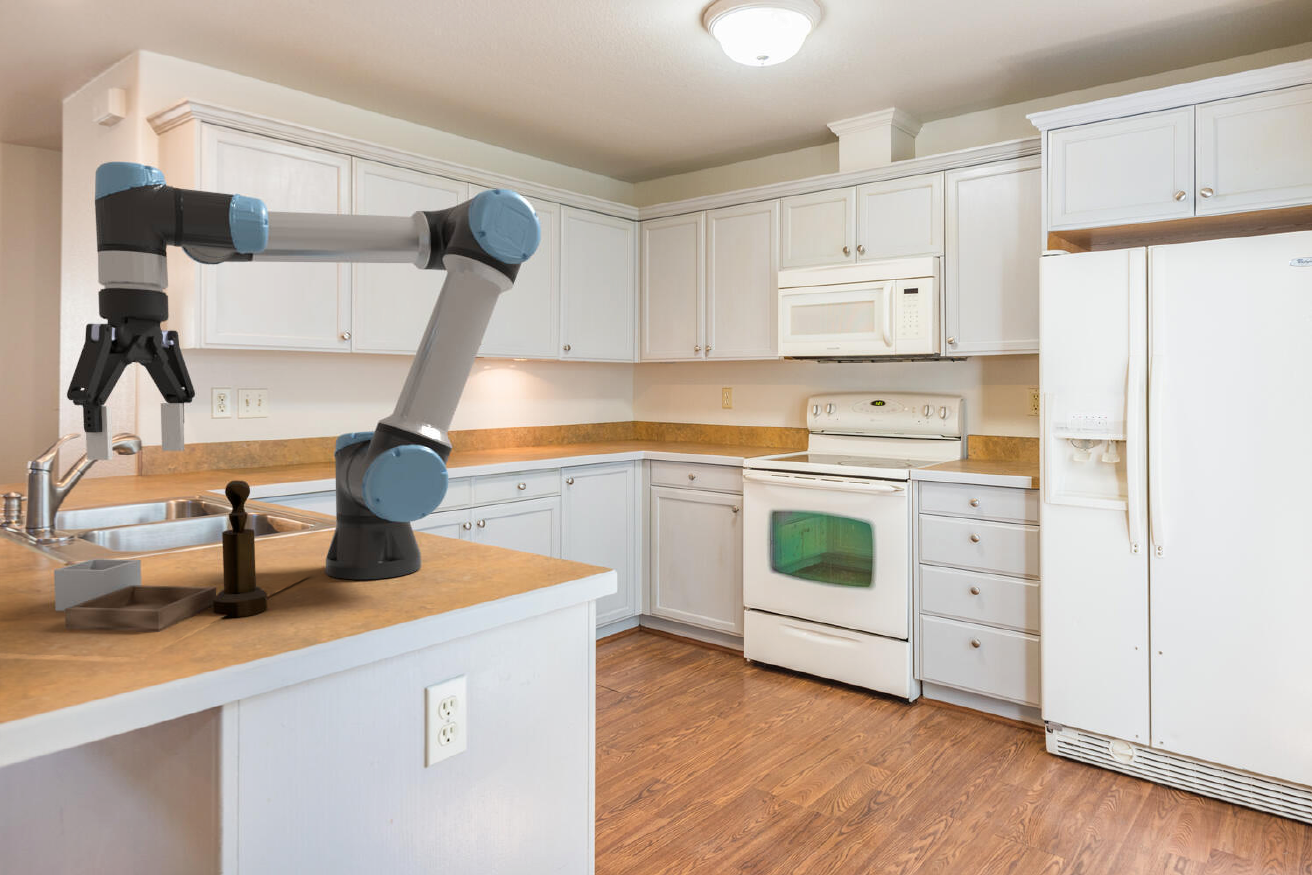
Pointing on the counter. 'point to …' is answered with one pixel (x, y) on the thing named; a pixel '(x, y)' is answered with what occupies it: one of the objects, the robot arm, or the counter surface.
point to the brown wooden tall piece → (239, 561)
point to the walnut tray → (140, 608)
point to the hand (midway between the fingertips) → (138, 455)
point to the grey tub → (93, 580)
